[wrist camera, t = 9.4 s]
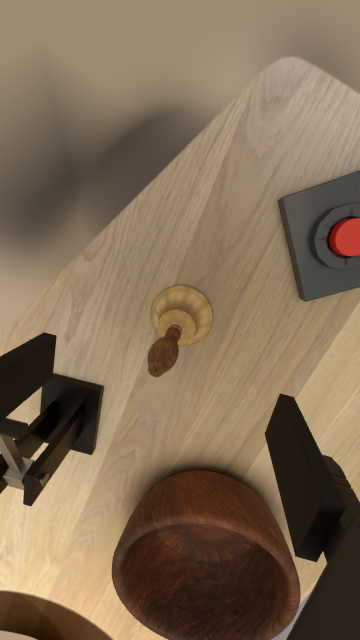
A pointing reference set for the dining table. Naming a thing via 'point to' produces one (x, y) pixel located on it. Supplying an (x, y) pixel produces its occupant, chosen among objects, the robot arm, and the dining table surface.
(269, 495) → the dining table surface
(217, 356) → the dining table surface
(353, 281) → the push button switch
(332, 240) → the button
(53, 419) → the bracket
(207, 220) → the dining table surface
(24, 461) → the lever
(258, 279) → the dining table surface
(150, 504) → the wooden bowl
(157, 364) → the hand bell
